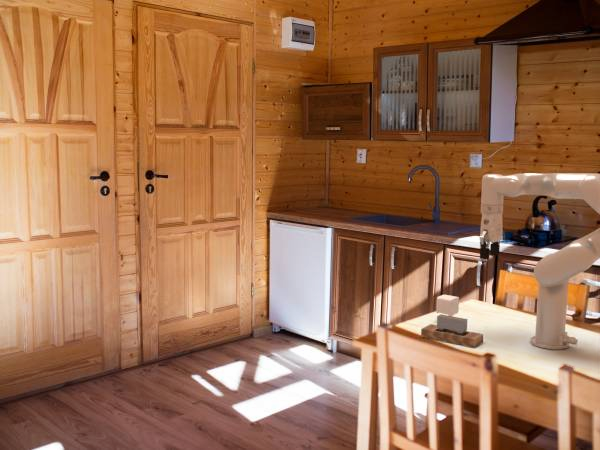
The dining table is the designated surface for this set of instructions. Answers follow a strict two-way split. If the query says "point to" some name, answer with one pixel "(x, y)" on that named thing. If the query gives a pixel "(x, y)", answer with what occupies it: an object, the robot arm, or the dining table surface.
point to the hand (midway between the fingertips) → (489, 257)
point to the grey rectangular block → (452, 324)
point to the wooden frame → (452, 336)
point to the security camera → (447, 305)
